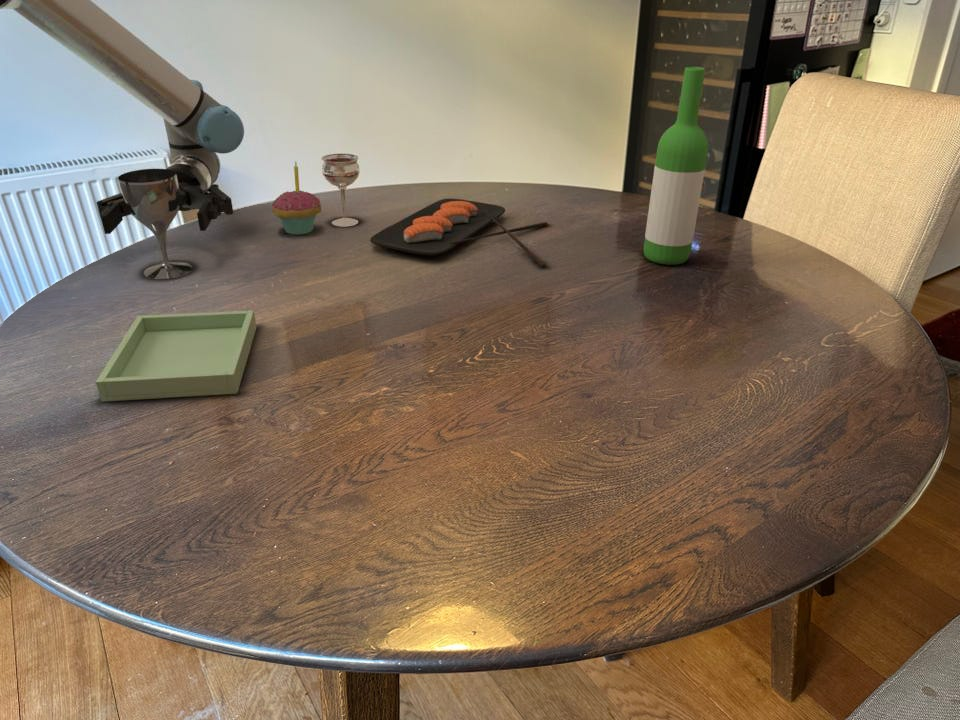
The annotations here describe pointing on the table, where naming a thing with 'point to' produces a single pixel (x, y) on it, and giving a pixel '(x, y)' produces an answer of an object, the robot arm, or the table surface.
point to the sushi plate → (445, 228)
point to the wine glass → (155, 211)
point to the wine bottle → (678, 179)
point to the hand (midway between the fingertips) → (153, 223)
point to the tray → (179, 356)
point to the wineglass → (341, 178)
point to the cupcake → (297, 209)
